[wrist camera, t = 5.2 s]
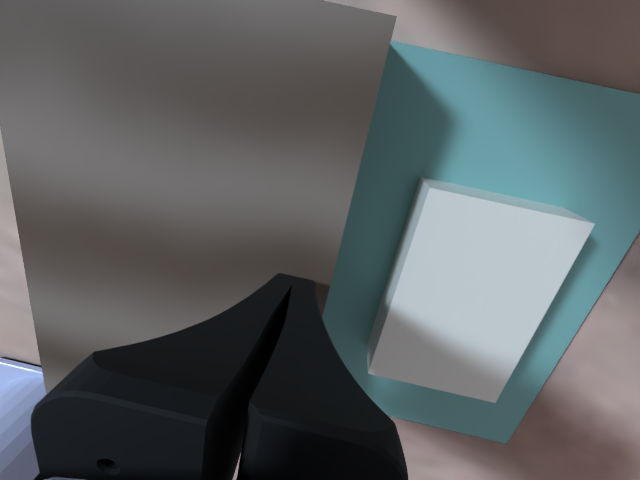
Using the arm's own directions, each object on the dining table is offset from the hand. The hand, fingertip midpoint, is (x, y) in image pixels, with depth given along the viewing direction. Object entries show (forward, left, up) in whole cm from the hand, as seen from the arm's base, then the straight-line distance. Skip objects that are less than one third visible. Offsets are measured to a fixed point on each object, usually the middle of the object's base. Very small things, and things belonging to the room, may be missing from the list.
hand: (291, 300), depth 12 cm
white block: (0, -7, -2) cm, 7 cm away
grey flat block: (0, +5, -5) cm, 7 cm away
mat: (0, -7, -5) cm, 9 cm away
